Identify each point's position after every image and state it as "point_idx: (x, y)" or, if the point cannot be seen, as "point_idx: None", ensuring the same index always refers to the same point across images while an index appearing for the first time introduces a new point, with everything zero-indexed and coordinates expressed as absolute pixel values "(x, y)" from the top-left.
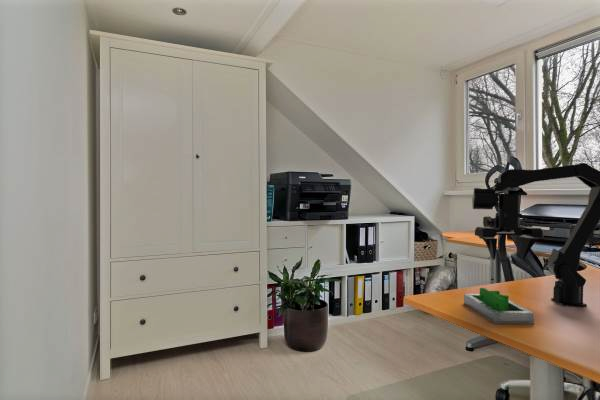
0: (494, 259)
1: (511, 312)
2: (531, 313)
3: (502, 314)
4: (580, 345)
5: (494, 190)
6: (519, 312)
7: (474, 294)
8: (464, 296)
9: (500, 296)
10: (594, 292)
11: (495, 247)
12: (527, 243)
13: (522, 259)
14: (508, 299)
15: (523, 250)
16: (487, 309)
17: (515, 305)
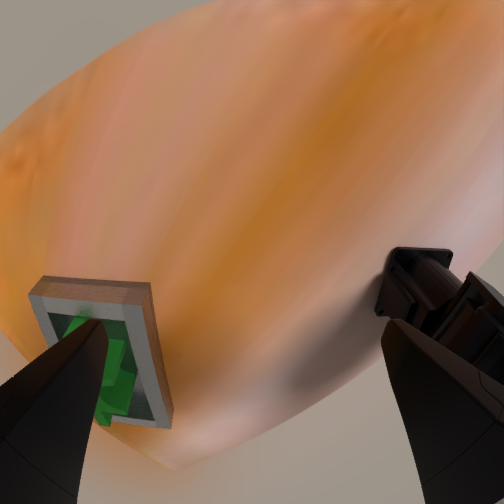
0: (105, 344)
1: (122, 421)
2: (165, 427)
3: None
4: (200, 452)
5: None
6: (139, 423)
7: (56, 305)
8: (33, 292)
9: (105, 410)
10: None
11: (72, 468)
12: (431, 488)
13: (381, 340)
14: (128, 407)
15: (420, 405)
16: None
17: (151, 397)
